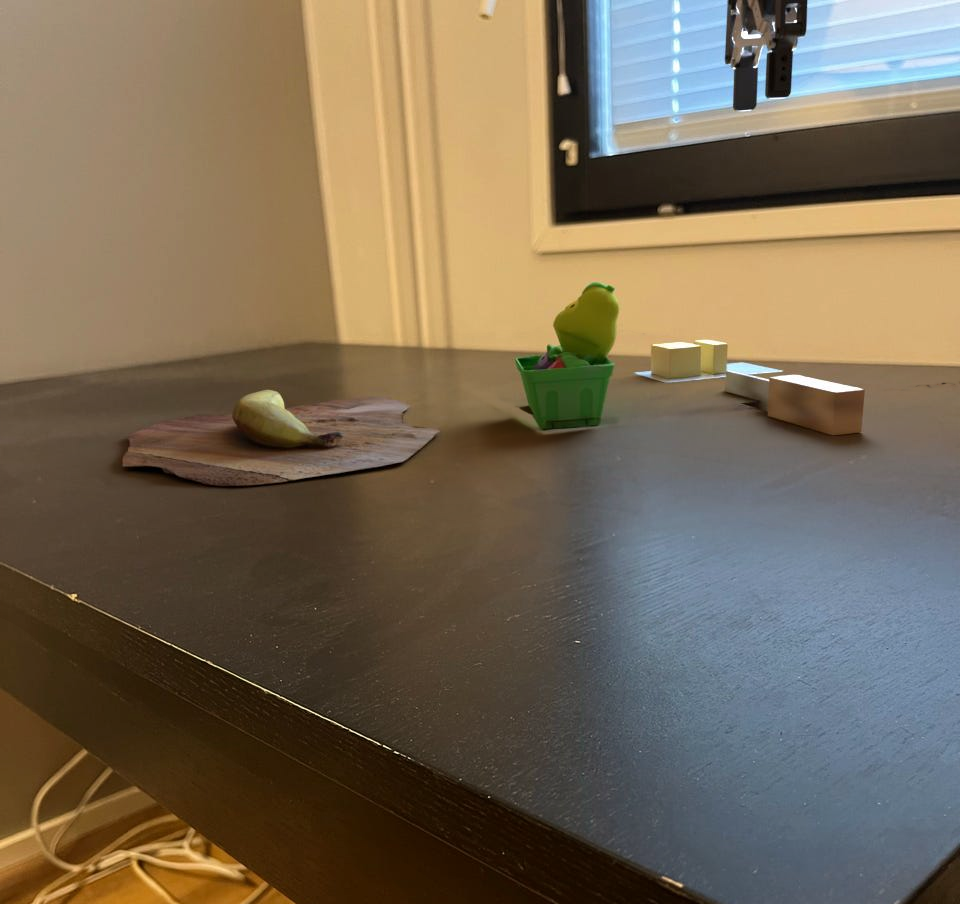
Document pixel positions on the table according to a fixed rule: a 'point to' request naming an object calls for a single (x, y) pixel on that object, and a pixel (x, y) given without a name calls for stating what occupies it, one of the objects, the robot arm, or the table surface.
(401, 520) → the table surface
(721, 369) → the butter pat
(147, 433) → the cutting board
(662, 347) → the butter stick
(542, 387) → the fruit basket
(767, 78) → the robot arm
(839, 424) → the knife
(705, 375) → the butter dish
